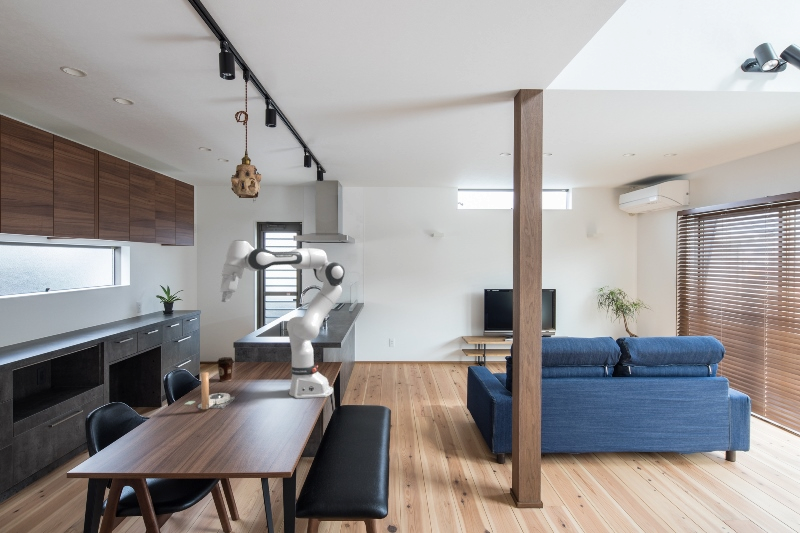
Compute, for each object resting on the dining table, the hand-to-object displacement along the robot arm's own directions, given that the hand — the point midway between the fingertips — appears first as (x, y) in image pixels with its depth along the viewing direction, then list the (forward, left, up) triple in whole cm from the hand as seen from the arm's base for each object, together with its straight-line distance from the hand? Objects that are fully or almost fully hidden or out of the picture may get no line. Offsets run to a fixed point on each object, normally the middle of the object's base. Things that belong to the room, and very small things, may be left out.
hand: (225, 301), depth 179 cm
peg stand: (+8, -4, -48) cm, 49 cm away
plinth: (+8, -7, -50) cm, 51 cm away
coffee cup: (+23, -44, -50) cm, 70 cm away
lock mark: (+22, -7, -50) cm, 55 cm away
